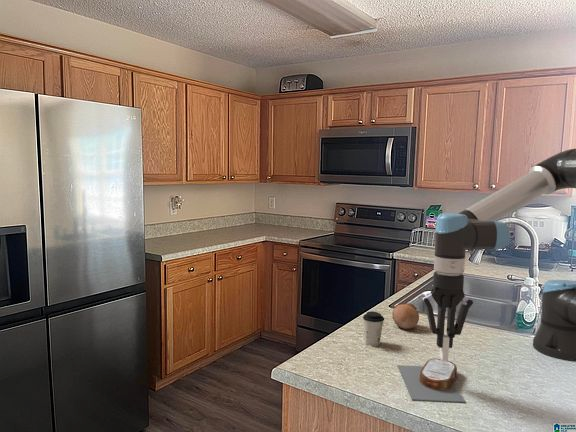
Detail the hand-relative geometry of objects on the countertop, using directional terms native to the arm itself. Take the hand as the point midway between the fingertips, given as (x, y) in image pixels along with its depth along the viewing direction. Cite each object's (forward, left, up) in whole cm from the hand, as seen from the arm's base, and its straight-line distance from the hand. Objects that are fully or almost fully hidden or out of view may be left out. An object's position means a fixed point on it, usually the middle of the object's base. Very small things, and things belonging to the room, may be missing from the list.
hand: (443, 358), depth 115 cm
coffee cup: (+15, -26, -7) cm, 31 cm away
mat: (+4, 0, -7) cm, 8 cm away
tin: (-4, -1, -5) cm, 6 cm away
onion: (+1, -42, -7) cm, 43 cm away
